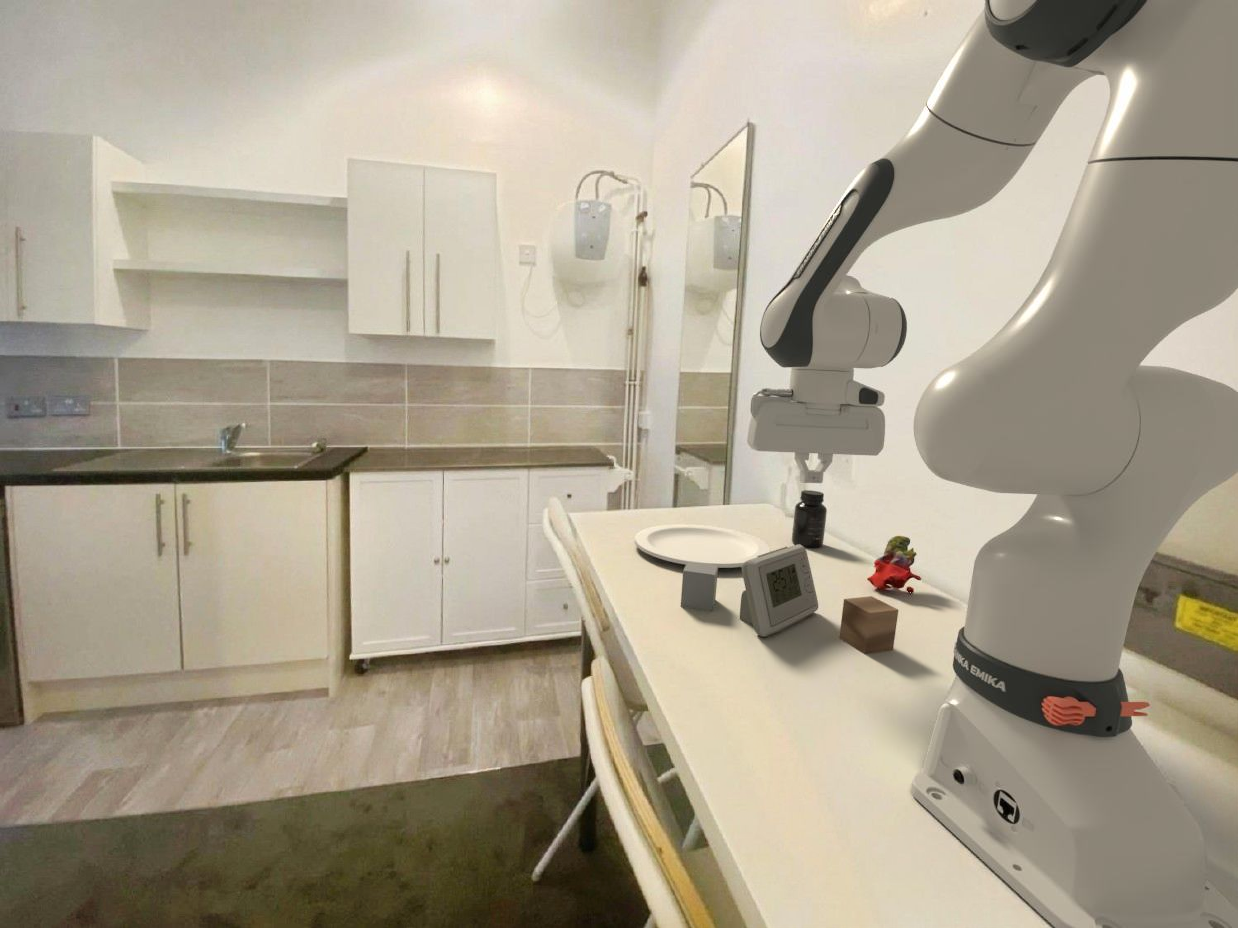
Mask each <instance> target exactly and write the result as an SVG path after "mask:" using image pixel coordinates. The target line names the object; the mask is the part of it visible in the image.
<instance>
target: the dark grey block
mask: <svg viewBox="0 0 1238 928" xmlns="http://www.w3.org/2000/svg"><path fill="white" fill-rule="evenodd" d="M682 570H683V571H682V580H681V583H682V584H681V597H680V607H681V608H689V609H693V610H694V609H695V610H700V611H708V612H713V609H714V606H715V602H716V596H717V595H716V594H717V585H718V573H719V568H718V565H713V564H705V563H698V562H690V561H688V562H687V564H686V565H685V566H684V568H683V569H682Z"/></svg>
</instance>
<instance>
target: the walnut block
mask: <svg viewBox="0 0 1238 928" xmlns="http://www.w3.org/2000/svg"><path fill="white" fill-rule="evenodd" d="M842 605H843V606H842V613H841V621H840V622H841V624H840V630H839V637H838V638H839V640H841V641H843V642H845V643H846V644H847V645H849V646H851V647H852V648H853V649H856V650H857V651H859V652H860V653H862V655H863V654H864V655H869V654H878V653H883V652H890V651H894V645H895V637H896V630H897V623H898V616H899V609H898V608H896V607H893V606H892V605H890V604H888V603H886V602H884V601H882V600H880V599H878V598H876V597H874V596H873V595H869V596H862V597H861V596H859V597H852V598H844V599H843V604H842Z"/></svg>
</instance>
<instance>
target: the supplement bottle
mask: <svg viewBox="0 0 1238 928" xmlns="http://www.w3.org/2000/svg"><path fill="white" fill-rule="evenodd" d="M824 496H825V494H824V492H821V491H818V490H817V491H816V490H801V492H800V501H799V502H798V503H797V504H795V507H794V515H793V521H792V522H793V524H792V532H791V533H792V534H791V542H792V543H793V544H794V545H795V544H796V545H798V544H800V545H802V546H803V547H804V548H805V549H806V548H807V549H819V548H822V546H824V545H823V544H824V538H825V530H826V521H827V512H828V509H827V507H826V506H825V505H824V504H823V503H824V500H825V499H824V498H825V497H824Z"/></svg>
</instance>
